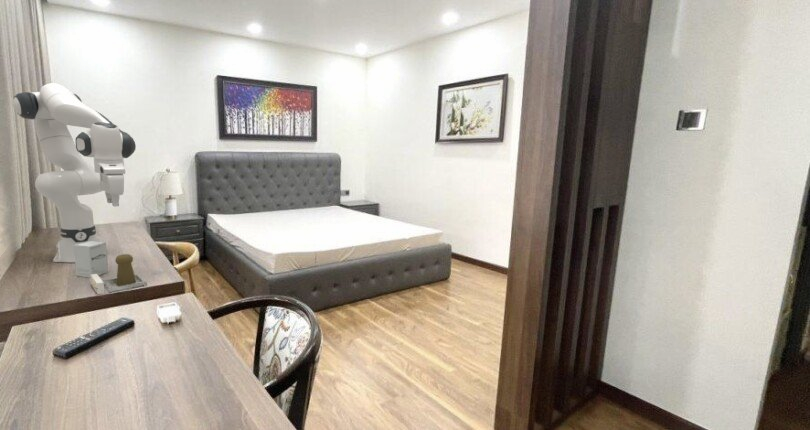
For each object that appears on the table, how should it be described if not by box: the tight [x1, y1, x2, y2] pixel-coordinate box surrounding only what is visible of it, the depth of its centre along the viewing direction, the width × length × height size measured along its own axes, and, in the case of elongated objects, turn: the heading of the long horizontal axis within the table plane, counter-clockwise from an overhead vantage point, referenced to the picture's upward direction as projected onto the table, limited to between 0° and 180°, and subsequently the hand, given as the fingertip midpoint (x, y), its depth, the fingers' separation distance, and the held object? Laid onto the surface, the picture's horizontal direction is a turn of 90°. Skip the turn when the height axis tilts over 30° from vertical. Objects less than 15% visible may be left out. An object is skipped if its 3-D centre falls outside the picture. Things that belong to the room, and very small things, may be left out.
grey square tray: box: [102, 273, 148, 293], centre depth 147 cm, size 12×12×2 cm
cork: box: [115, 253, 136, 286], centre depth 147 cm, size 6×6×11 cm
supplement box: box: [74, 241, 109, 279], centre depth 156 cm, size 7×7×13 cm
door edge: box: [89, 274, 105, 295], centre depth 142 cm, size 12×2×4 cm, turn 46°
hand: (113, 204), depth 148 cm, fingers open, 8 cm apart
